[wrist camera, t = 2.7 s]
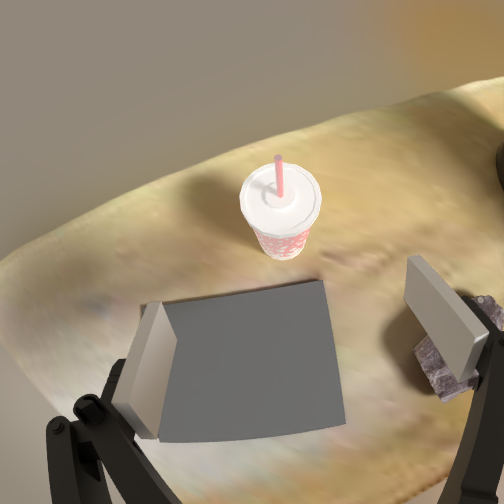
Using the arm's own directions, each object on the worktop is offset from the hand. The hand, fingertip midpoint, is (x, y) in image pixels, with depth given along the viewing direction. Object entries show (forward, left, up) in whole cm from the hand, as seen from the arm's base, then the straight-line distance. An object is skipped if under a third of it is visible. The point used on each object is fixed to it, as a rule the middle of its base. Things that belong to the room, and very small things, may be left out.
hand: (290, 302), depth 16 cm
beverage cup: (-1, -8, -14) cm, 16 cm away
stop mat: (+5, +4, -14) cm, 15 cm away
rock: (-17, +7, -14) cm, 23 cm away
